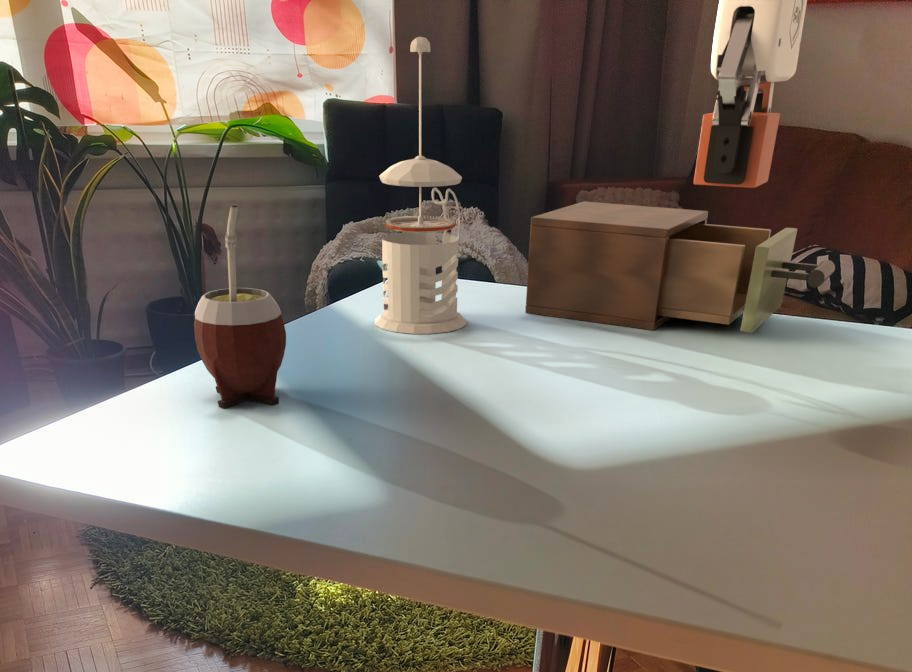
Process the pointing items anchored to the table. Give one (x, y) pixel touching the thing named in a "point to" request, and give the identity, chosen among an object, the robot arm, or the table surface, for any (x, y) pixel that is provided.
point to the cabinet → (602, 262)
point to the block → (759, 149)
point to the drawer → (731, 274)
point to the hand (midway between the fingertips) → (732, 177)
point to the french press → (420, 249)
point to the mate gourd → (240, 336)
